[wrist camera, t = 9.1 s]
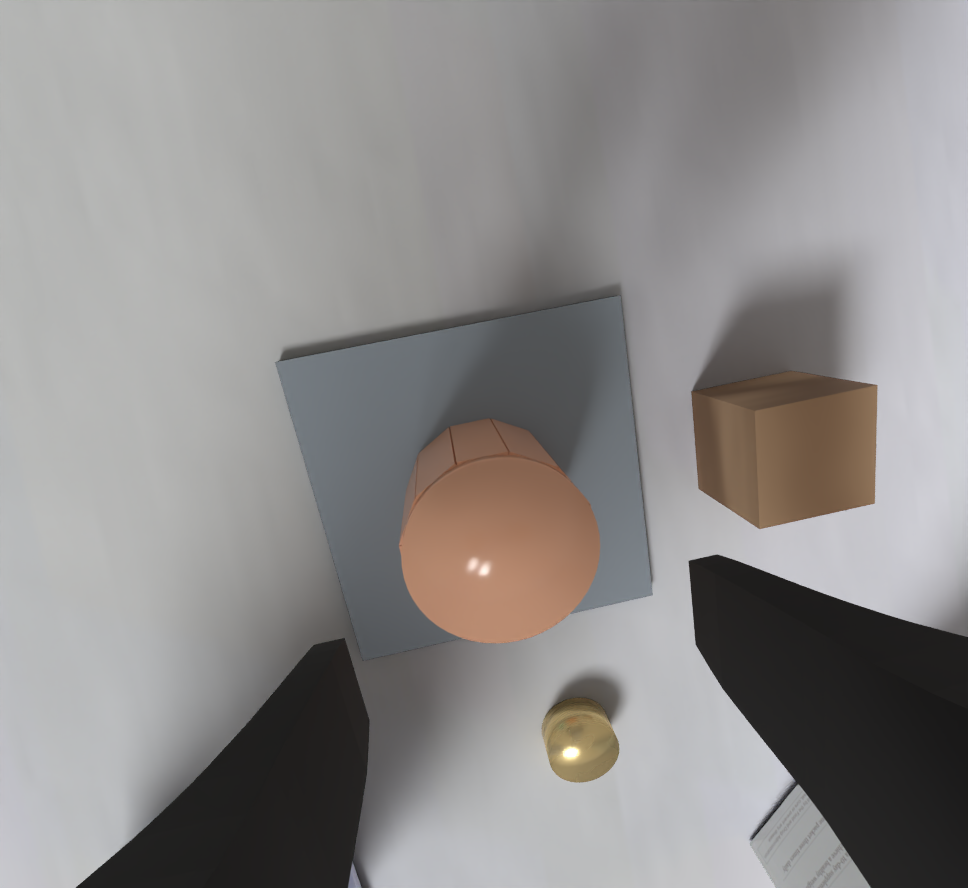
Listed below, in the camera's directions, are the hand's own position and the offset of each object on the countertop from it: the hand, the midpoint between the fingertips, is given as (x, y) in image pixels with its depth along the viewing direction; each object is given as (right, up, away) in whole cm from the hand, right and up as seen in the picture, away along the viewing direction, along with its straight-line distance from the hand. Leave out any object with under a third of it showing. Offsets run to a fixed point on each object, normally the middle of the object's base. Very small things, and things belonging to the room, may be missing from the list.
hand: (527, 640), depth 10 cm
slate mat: (-1, +2, +9) cm, 9 cm away
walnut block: (+9, +4, +10) cm, 14 cm away
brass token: (+3, -9, +12) cm, 15 cm away
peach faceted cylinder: (-1, +2, +9) cm, 9 cm away
